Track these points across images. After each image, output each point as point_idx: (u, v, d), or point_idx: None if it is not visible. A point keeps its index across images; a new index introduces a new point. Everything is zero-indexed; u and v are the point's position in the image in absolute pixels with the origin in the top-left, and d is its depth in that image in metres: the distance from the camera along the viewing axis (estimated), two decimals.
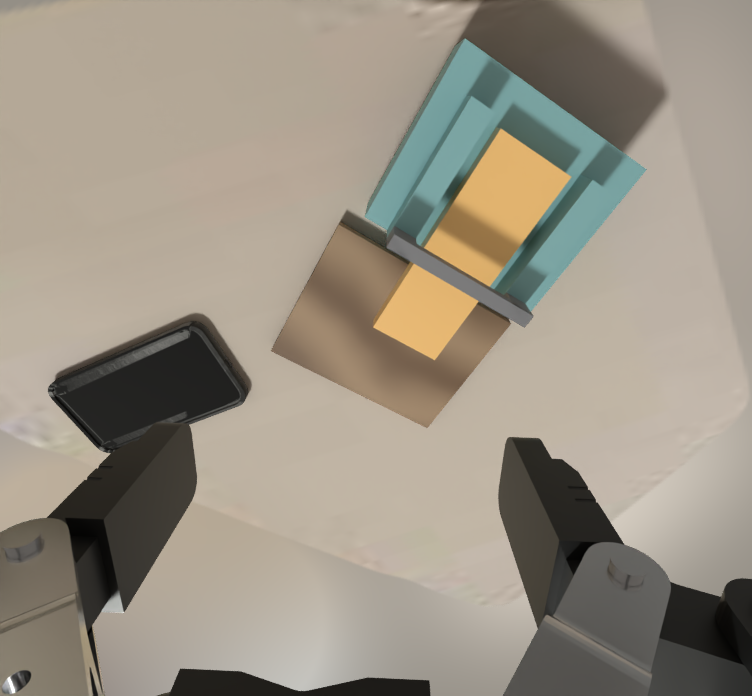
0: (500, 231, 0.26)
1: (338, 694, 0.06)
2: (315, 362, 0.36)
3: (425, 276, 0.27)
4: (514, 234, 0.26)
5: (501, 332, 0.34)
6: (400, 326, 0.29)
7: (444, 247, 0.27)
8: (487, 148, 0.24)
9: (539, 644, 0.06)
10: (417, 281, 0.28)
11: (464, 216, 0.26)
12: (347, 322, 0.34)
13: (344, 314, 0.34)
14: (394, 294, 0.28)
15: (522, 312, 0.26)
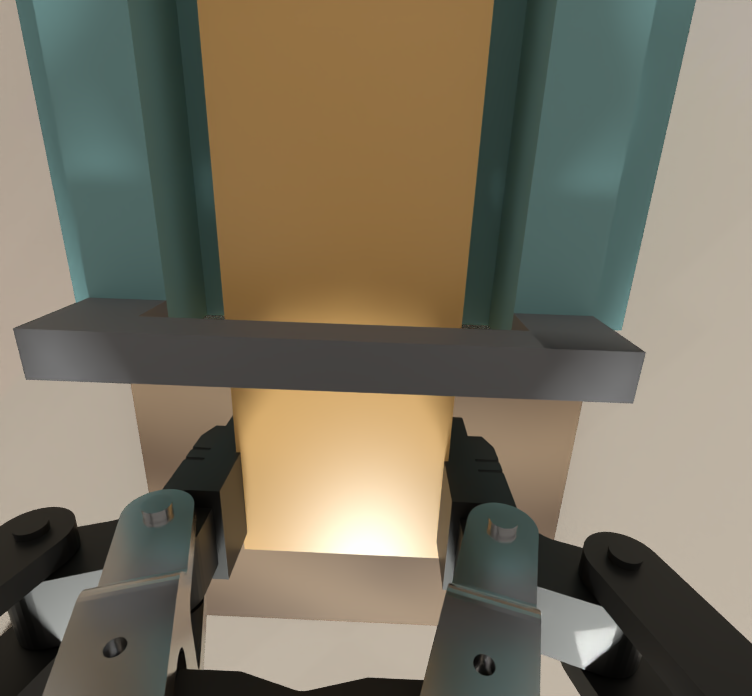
0: (393, 151, 0.08)
1: (337, 695, 0.06)
2: (254, 600, 0.18)
3: None
4: (439, 136, 0.08)
5: None
6: (305, 520, 0.11)
7: (271, 281, 0.09)
8: None
9: (448, 614, 0.06)
10: (268, 401, 0.10)
11: (265, 167, 0.08)
12: None
13: None
14: None
15: (595, 357, 0.07)
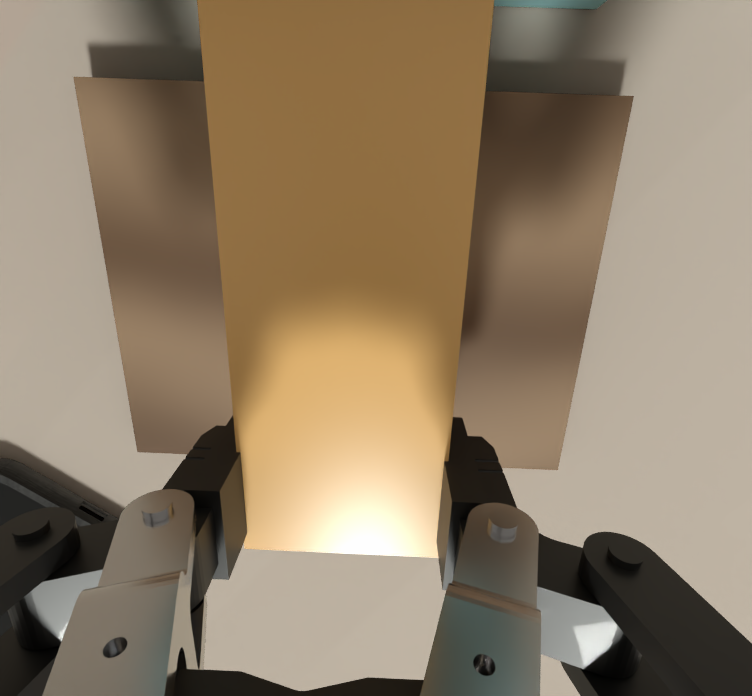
0: (393, 150, 0.08)
1: (337, 695, 0.06)
2: None
3: (278, 379, 0.09)
4: (438, 134, 0.08)
5: (618, 135, 0.12)
6: (305, 519, 0.11)
7: (272, 280, 0.09)
8: None
9: (447, 614, 0.06)
10: (268, 401, 0.10)
11: (266, 167, 0.08)
12: None
13: None
14: None
15: None
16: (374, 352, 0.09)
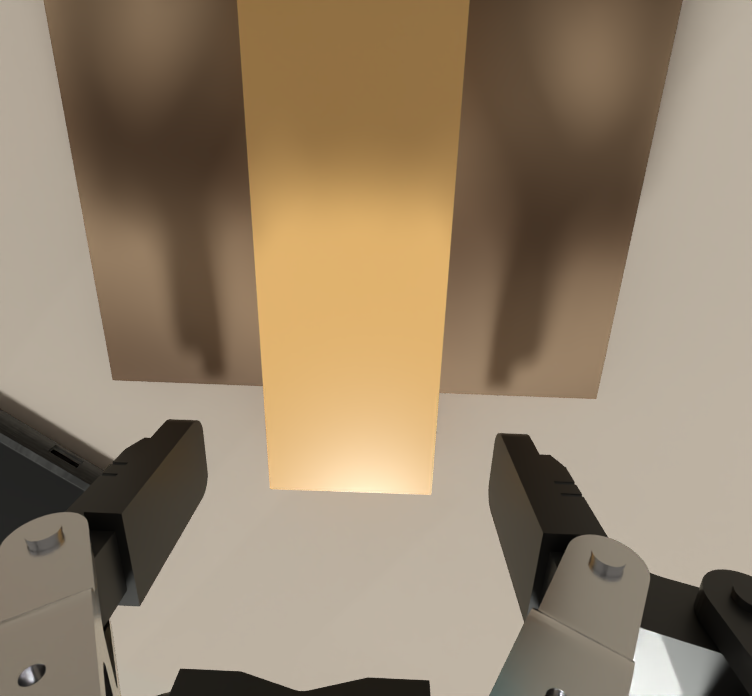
0: (391, 159, 0.10)
1: (337, 695, 0.06)
2: (224, 357, 0.13)
3: (299, 343, 0.12)
4: (425, 147, 0.10)
5: None
6: (320, 462, 0.13)
7: (294, 262, 0.11)
8: None
9: (526, 638, 0.06)
10: (291, 362, 0.12)
11: (291, 173, 0.10)
12: (230, 202, 0.12)
13: (209, 183, 0.12)
14: (266, 408, 0.12)
15: None
16: (376, 320, 0.11)
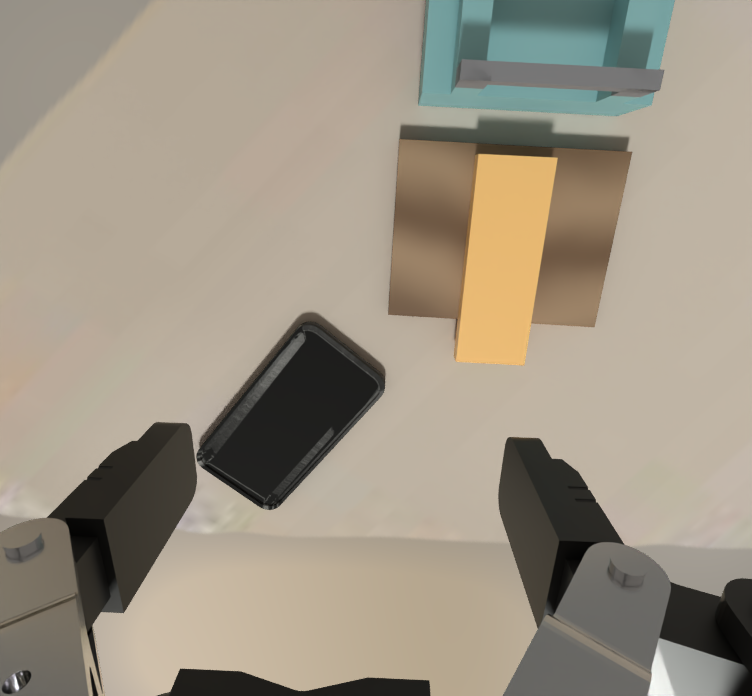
0: (522, 230, 0.29)
1: (337, 695, 0.06)
2: (438, 305, 0.32)
3: (478, 298, 0.30)
4: (535, 226, 0.28)
5: (625, 167, 0.28)
6: (479, 349, 0.31)
7: (481, 266, 0.29)
8: (476, 173, 0.28)
9: (539, 644, 0.06)
10: (473, 305, 0.30)
11: (485, 233, 0.29)
12: (452, 242, 0.30)
13: (445, 235, 0.30)
14: (460, 325, 0.31)
15: (648, 71, 0.21)
16: (510, 289, 0.30)
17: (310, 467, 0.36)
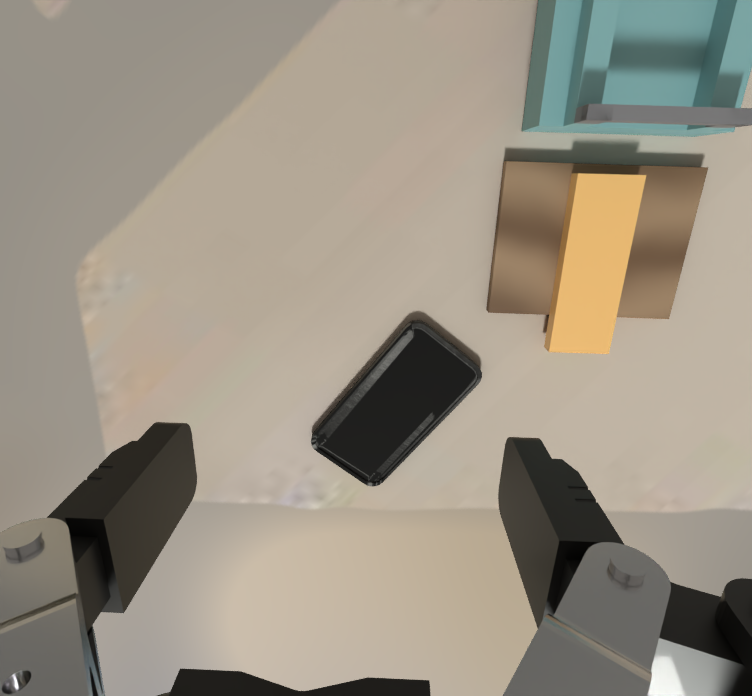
0: (612, 237, 0.33)
1: (337, 694, 0.06)
2: (532, 303, 0.36)
3: (571, 296, 0.35)
4: (624, 234, 0.33)
5: (702, 181, 0.33)
6: (570, 341, 0.36)
7: (575, 269, 0.34)
8: (574, 190, 0.32)
9: (539, 644, 0.06)
10: (567, 303, 0.35)
11: (580, 241, 0.33)
12: (548, 248, 0.35)
13: (542, 242, 0.35)
14: (554, 320, 0.35)
15: (743, 110, 0.25)
16: (599, 288, 0.34)
17: (411, 448, 0.41)
